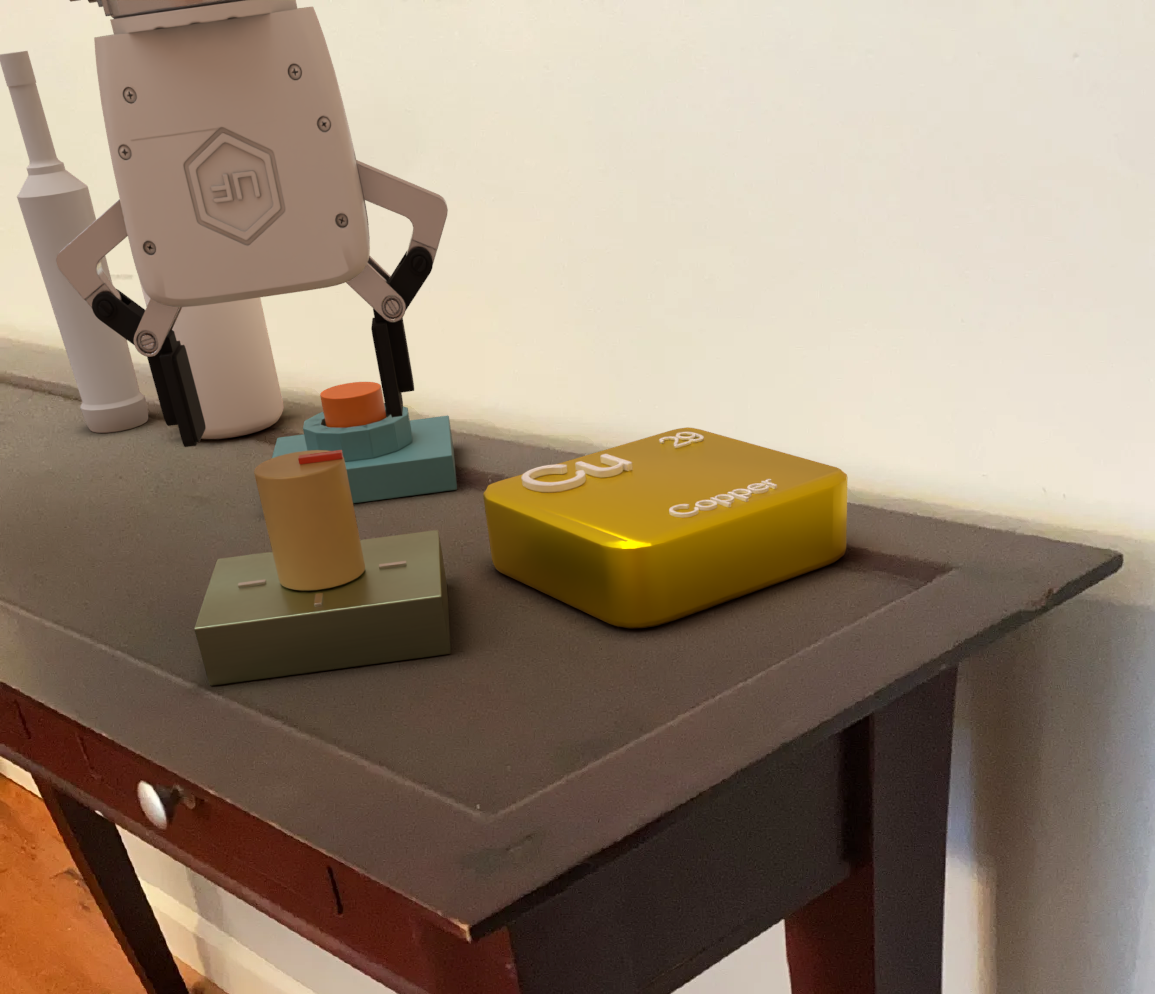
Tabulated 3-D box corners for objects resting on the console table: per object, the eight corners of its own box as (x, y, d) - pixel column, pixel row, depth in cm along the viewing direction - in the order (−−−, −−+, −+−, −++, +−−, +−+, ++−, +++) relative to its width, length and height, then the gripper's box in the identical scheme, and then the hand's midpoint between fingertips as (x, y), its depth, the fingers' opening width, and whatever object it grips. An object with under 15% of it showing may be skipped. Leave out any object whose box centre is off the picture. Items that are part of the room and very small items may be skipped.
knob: (276, 596, 70) (247, 476, 66) (282, 566, 73) (256, 450, 69) (364, 584, 70) (340, 463, 66) (366, 554, 73) (344, 438, 70)
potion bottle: (307, 413, 111) (251, 146, 100) (245, 444, 105) (180, 165, 94) (222, 411, 114) (159, 153, 103) (158, 442, 108) (85, 172, 97)
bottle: (76, 427, 115) (-36, 58, 99) (134, 412, 117) (32, 49, 102) (103, 437, 111) (-9, 56, 96) (161, 420, 114) (61, 46, 98)
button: (325, 434, 91) (318, 401, 90) (327, 419, 94) (321, 386, 93) (386, 426, 91) (380, 393, 90) (387, 411, 94) (381, 378, 93)
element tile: (632, 638, 68) (624, 540, 66) (479, 566, 79) (466, 478, 76) (863, 555, 74) (865, 462, 71) (692, 498, 85) (688, 414, 82)
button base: (273, 514, 91) (258, 450, 88) (284, 470, 98) (270, 410, 96) (457, 490, 91) (447, 425, 88) (453, 447, 99) (444, 387, 96)
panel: (209, 686, 69) (192, 625, 67) (230, 612, 77) (215, 555, 75) (451, 654, 69) (441, 592, 67) (447, 583, 77) (437, 526, 75)
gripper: (-41, 10, 53) (101, 472, 64) (409, -53, 54) (478, 419, 64) (5, 7, 59) (128, 430, 70) (409, -50, 59) (472, 381, 70)
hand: (295, 424), depth 67 cm, fingers open, 9 cm apart
